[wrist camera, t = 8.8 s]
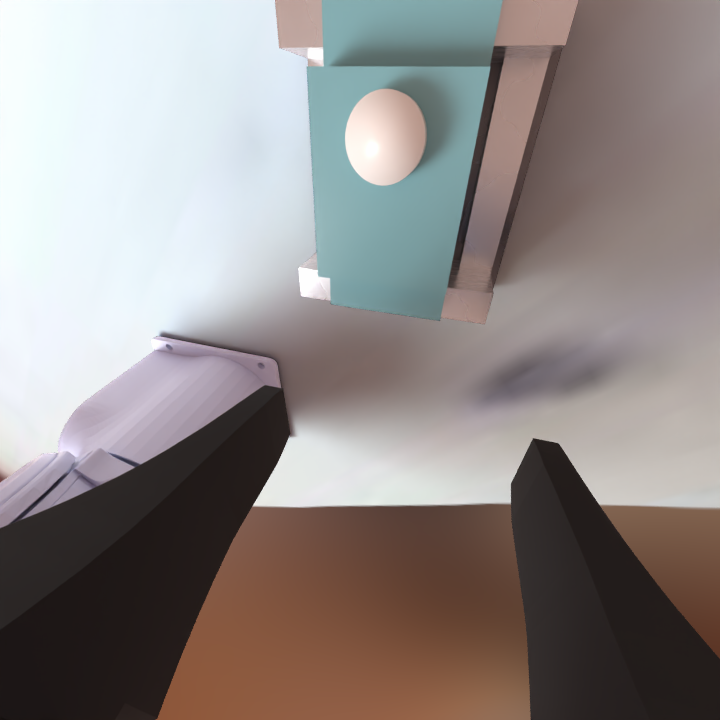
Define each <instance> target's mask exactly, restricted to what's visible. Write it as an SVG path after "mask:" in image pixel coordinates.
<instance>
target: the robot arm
mask: <svg viewBox="0 0 720 720" xmlns="http://www.w3.org/2000/svg"><path fill="white" fill-rule="evenodd" d="M151 343H152V346H153V348H154V351H153V352H152V353H150V354H149V355H148V356H146V357H145V358H143V359H142V360H141V361H139V362H138V363H137V364H135V365H134V366H132V367H131V368H130V369H128V370H127V371H126V372H124V373H123V374H121V375H120V376H119V377H117V378H116V379H115V380H113V381H112V382H110V383H109V384H108V385H106V386H105V387H104V388H102V389H101V390H99V391H98V392H97V393H95V394H94V395H93V396H91V397H90V398H88V399H87V400H86V401H85V402H83V403H82V404H81V405H80V406H79V407H78V408H77V409H76V410H75V411H74V412H73V414H72V415H71V417H70V418H69V419H68V421H67V423H66V424H65V426H64V428H63V430H62V432H61V435H60V438H59V443H58V453H45V454H41V455H39V456H38V457H36V458H35V459H33V460H32V461H30V462H29V463H27V464H26V465H24V466H23V467H21V468H20V469H19V470H17V471H16V472H14V473H13V474H12V475H10V476H9V477H8V478H6V479H5V480H3V481H2V482H1V483H0V720H155V719H157V718H158V715H159V712H160V710H161V707H162V704H163V702H164V699H165V696H166V694H167V691H168V689H169V686H170V683H171V681H172V678H173V676H174V673H175V671H176V668H177V665H178V663H179V660H180V658H181V655H182V653H183V650H184V648H185V646H186V643H187V641H188V638H189V636H190V634H191V631H192V629H193V626H194V624H195V622H196V619H197V617H198V615H199V612H200V610H201V608H202V605H203V603H204V601H205V599H206V596H207V594H208V592H209V590H210V588H211V585H212V583H213V581H214V579H215V576H216V574H217V572H218V570H219V568H220V566H221V564H222V561H223V559H224V557H225V555H226V553H227V551H228V549H229V547H230V545H231V543H232V541H233V539H234V537H235V535H236V533H237V532H238V530H239V528H240V526H241V525H242V523H243V521H244V519H245V518H246V516H247V514H248V513H249V511H250V509H251V507H252V506H253V504H254V503H255V501H256V499H257V497H258V496H259V494H260V492H261V491H262V489H263V487H264V486H265V484H266V482H267V480H268V479H269V477H270V475H271V474H272V472H273V470H274V468H275V467H276V465H277V463H278V461H279V459H280V456H281V454H282V452H283V450H284V447H285V445H286V442H287V440H288V438H289V435H290V429H289V423H288V417H287V411H286V405H285V399H284V393H283V388H281V384H280V378H279V371H278V365H277V363H276V362H275V360H273V359H271V358H267V357H262V356H257V355H252V354H247V353H242V352H237V351H232V350H227V349H221V348H216V347H211V346H206V345H201V344H196V343H191V342H186V341H180V340H175V339H170V338H165V337H160V336H156V337H154V338H153V339H151ZM261 363H263V364H264V365H262V364H261ZM511 513H512V514H511V515H512V528H513V535H514V542H515V550H516V557H517V564H518V571H519V578H520V584H521V592H522V599H523V605H524V613H525V621H526V631H527V643H528V665H529V684H530V709H531V710H530V711H531V720H720V659H719V658H718V657H717V655H716V654H715V653H714V652H713V651H712V649H711V648H710V647H709V646H708V645H707V644H706V642H705V641H704V640H703V639H702V638H701V637H700V635H699V634H698V633H697V632H696V631H695V629H694V628H693V627H692V626H691V625H690V624H689V622H688V621H687V620H686V619H685V618H684V616H683V615H682V614H681V613H680V612H679V611H678V610H677V609H676V607H675V606H674V605H673V603H672V602H671V601H670V600H669V598H668V597H667V596H666V595H665V593H664V592H663V591H662V590H661V588H660V587H659V586H658V585H657V583H656V582H655V581H654V579H653V578H652V577H651V576H650V574H649V573H648V571H647V570H646V569H645V568H644V566H643V565H642V564H641V562H640V561H639V560H638V558H637V557H636V556H635V555H634V553H633V552H632V550H631V549H630V548H629V546H628V545H627V544H626V542H625V541H624V540H623V538H622V537H621V535H620V534H619V532H618V531H617V530H616V528H615V527H614V525H613V524H612V523H611V521H610V520H609V518H608V517H607V515H606V514H605V513H604V511H603V510H602V508H601V507H600V505H599V504H598V502H597V501H596V499H595V498H594V497H593V495H592V494H591V492H590V491H589V489H588V487H587V486H586V484H585V483H584V481H583V480H582V478H581V477H580V475H579V474H578V472H577V471H576V469H575V468H574V466H573V465H572V463H571V462H570V460H569V458H568V457H567V455H566V454H565V452H564V451H563V449H562V448H561V446H560V445H559V444H558V443H554V442H549V441H544V440H539V439H534V438H533V440H532V442H531V444H530V446H529V448H528V450H527V452H526V454H525V456H524V458H523V460H522V462H521V464H520V466H519V469H518V471H517V473H516V475H515V477H514V479H513V481H512V483H511Z"/></svg>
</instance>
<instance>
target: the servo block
mask: <svg viewBox="0 0 720 720" xmlns="http://www.w3.org/2000/svg"><path fill="white" fill-rule="evenodd" d="M502 1H503V0H322V30H323V63H324V66H307V82H308V100H309V119H310V138H311V157H312V176H313V195H314V214H315V233H316V252H317V271H318V277H324V278H330V297H331V304H332V305H339V306H345V307H352V308H358V309H365V310H371V311H378V312H384V313H391V314H398V315H404V316H411V317H417V318H424V319H430V320H437V321H440V319H441V314H442V308H443V303H444V298H445V294H446V291H447V286H448V281H449V276H450V271H451V266H452V261H453V255H454V250H455V245H456V240H457V235H458V230H459V225H460V220H461V215H462V210H463V205H464V200H465V194H466V189H467V184H468V179H469V174H470V169H471V164H472V159H473V154H474V149H475V144H476V139H477V133H478V128H479V123H480V118H481V113H482V108H483V103H484V98H485V93H486V88H487V83H488V78H489V72H490V63H491V58H492V53H493V47H494V42H495V37H496V32H497V27H498V22H499V17H500V12H501V7H502Z"/></svg>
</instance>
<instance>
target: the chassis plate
mask: <svg viewBox="0 0 720 720" xmlns="http://www.w3.org/2000/svg"><path fill="white" fill-rule="evenodd" d="M578 1H579V0H503V1H502V7H501V12H500V17H499V22H498V27H497V32H496V37H495V42H494V47H493V53H492V58H491V63H490V72H489V78H488V83H487V88H486V93H485V98H484V103H483V108H482V113H481V118H480V123H479V128H478V133H477V139H476V144H475V149H474V154H473V159H472V164H471V169H470V174H469V179H468V184H467V189H466V194H465V200H464V205H463V210H462V215H461V220H460V225H459V230H458V235H457V240H456V245H455V250H454V255H453V261H452V266H451V271H450V276H449V281H448V286H447V291H446V294H445V298H444V303H443V308H442V314H441V318H447V319H454V320H461V321H467V322H474V323H480V324H485V321H486V318H487V314H488V311H489V307H490V304H491V300H492V297H493V288H494V284H495V281H496V277H497V274H498V270H499V267H500V263H501V260H502V256H503V253H504V249H505V246H506V242H507V239H508V235H509V232H510V228H511V225H512V221H513V218H514V214H515V211H516V207H517V204H518V201H519V197H520V194H521V190H522V187H523V183H524V180H525V176H526V173H527V169H528V166H529V162H530V159H531V155H532V152H533V148H534V145H535V141H536V138H537V134H538V131H539V127H540V124H541V120H542V117H543V113H544V110H545V106H546V103H547V99H548V96H549V92H550V89H551V85H552V82H553V78H554V75H555V72H556V68H557V65H558V61H559V58H560V54H561V51H562V48H563V47H564V46H565V45H566V42H567V39H568V35H569V32H570V28H571V25H572V21H573V18H574V14H575V11H576V8H577V4H578ZM275 5H276V17H277V28H278V39H279V48H281V49H284V50H286V51H289V52H292V53H294V54H297V55H300V56H303V57H305V58H308V66H324V63H323V30H322V0H275ZM299 279H300V291H301V296H302V297H309V298H315V299H322V300H329V301H331V297H330V278H324V277H318V271H317V252H316V253H315V254H314V255H313V256H312V257H311V258H309V259H308V260H307V261H306V262H305V263H303V264H302V265H301V266H300V267H299Z"/></svg>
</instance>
